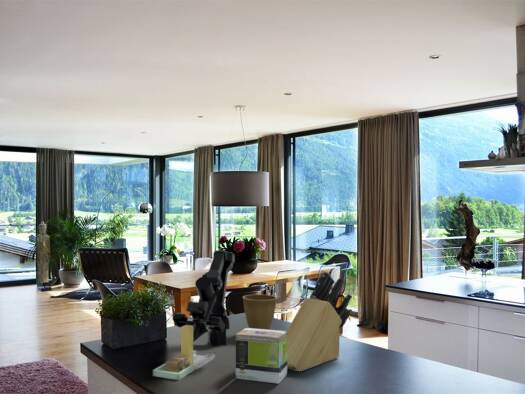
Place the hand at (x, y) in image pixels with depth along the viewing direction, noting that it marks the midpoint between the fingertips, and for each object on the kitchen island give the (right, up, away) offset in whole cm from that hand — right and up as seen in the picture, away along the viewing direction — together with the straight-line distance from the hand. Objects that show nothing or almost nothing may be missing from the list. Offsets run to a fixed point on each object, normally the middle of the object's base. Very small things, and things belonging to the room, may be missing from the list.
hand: (190, 343), depth 173 cm
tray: (-4, -8, -10) cm, 13 cm away
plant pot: (+24, -9, +45) cm, 52 cm away
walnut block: (-4, -7, -9) cm, 12 cm away
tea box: (+25, -9, -9) cm, 28 cm away
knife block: (+44, -9, +9) cm, 46 cm away
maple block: (-2, -7, -6) cm, 9 cm away
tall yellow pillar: (-1, -7, -2) cm, 7 cm away
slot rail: (+1, -8, +2) cm, 8 cm away
